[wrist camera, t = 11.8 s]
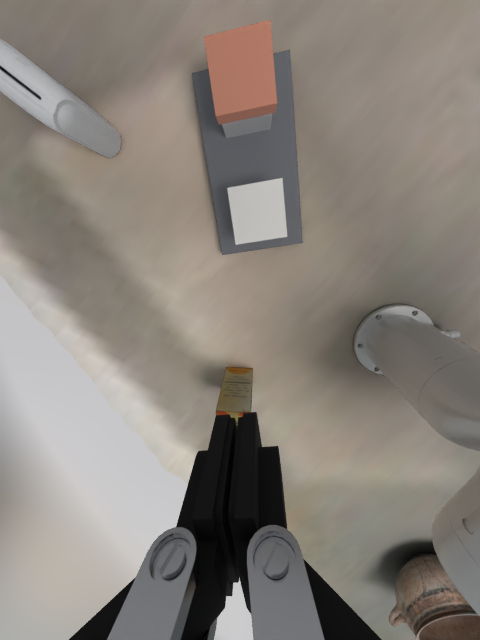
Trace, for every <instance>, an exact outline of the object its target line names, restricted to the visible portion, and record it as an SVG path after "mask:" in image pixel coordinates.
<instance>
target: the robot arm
mask: <svg viewBox="0 0 480 640" xmlns="http://www.w3.org/2000/svg"><path fill="white" fill-rule="evenodd" d="M376 316H377V317H376ZM459 337H460V333H459V331H458V330H447V331H442V330H440V329H438V328H436V327H434V324H433V322H432V320H431V319H430V317H429V316H428V315H427V314H426V313H424V312H423V311H421V310H420V309H417V308H415V307H413V306H409V305H403V304H396V305H389V306H385V307H382V308H380V309H378V310H376V311H374V312H373V313H371V314H370V315H368V316H367V317H366V318H365V319H364V320H363V321H362V323H361V324H360V326H359V327H358V329H357V331H356V333H355V337H354V351H355V354H356V356H357V358H358V360H359V361H360V362H361V363H362V365H363V366H364V367H366V368H367V369H368V370H370V371H372V372H374V373H377V374H381V375H385V376H386V377H387V378H388V380H389V381H390V382H391V383H392V384H393V385H394V386H395V387H396V388H397V389H398V391H399V392H400V393H401V394H402V395H403V396H404V397H405V398H406V399H407V400H408V402H409V403H410V404H411V405H412V406H413V407H414V408H415V409H416V410H417V411H418V413H419V414H420V415H421V416H422V417H423V418H424V419H425V420H426V421H427V422H428V423H429V424H430V425H431V427H432V428H433V429H434V430H436V431H437V432H438V433H439V434H440V435H442V436H443V437H444V438H446V439H448V440H450V441H451V442H453V443H455V444H458V445H460V446H463V447H466V448H469V449H473V450H477V451H480V353H479V352H477V351H475V350H473V349H471V348H469V347H467V345H466V344H465V343H464V342H458V341H456V340H454V339H456V338H459ZM432 542H433V546H434V549H435V552H436V554H437V557H438V559H439V561H440V563H441V565H442V567H443V568H444V570H445V572H446V574H447V575H448V577H449V578H450V580H451V581H452V583H453V584H454V585H455V587H456V588H457V590H458V591H459V592H460V594H461V595H462V596H463V597H464V599H465V600H466V601H467V602H468V604H469V605H470V606H471V607H472V608H473V609H474V611H475V612H476V613H477V614H478V615H479V616H480V467H479V469H478V470H477V473H476V474H475V475H474V476H473V477H472V478H471V479H470V480H469V481H468V482H467V483H466V484H465V485H464V486H463V487H462V488H461V489H460V490H459V491H458V492H457V493H456V494H455V495H454V496H453V497H452V498H451V499H450V500H449V501H448V502H447V503H446V505H445V506H444V507H443V508H442V509H441V510H440V512H439V513H438V514H437V516H436V518H435V520H434V522H433V525H432ZM239 577H240V581H241V585H242V590H243V593H244V597H245V602H246V606H247V609H248V610H249V612H250V613H251V615H252V627H253V638H254V640H381V639H380V638H379V637H378V636H377V634H376V633H375V632H374V631H373V630H372V629H371V628H370V627H369V626H368V625H367V624H366V623H365V622H364V621H363V620H362V619H361V618H360V617H359V616H358V615H357V614H356V613H355V612H354V611H353V610H352V609H351V608H350V607H349V605H348V604H347V603H346V602H345V601H344V600H343V599H342V598H341V597H340V596H339V595H338V594H337V593H336V592H335V591H334V590H333V589H332V588H331V587H330V586H329V585H328V584H327V583H326V582H325V581H324V580H323V579H322V578H321V576H320V575H319V574H318V573H317V572H316V571H315V570H314V569H313V568H312V567H311V566H310V565H309V564H308V563H307V562H306V561H305V560H304V559H303V556H302V553H301V549H300V547H299V544H298V542H297V540H296V538H295V537H294V536H293V535H292V533H291V532H289V531H288V530H287V522H286V512H285V502H284V492H283V482H282V473H281V464H280V456H279V449H278V446H273V447H262V445H261V438H260V432H259V425H258V419H257V413H256V412H252V413H243V417H238V424H237V425H236V420H235V418H231V416H230V414H226V415H216V418H215V422H214V426H213V430H212V435H211V439H210V443H209V448H208V450H207V451H198V453H197V455H196V458H195V462H194V466H193V469H192V473H191V476H190V480H189V483H188V487H187V491H186V494H185V498H184V501H183V505H182V508H181V512H180V516H179V519H178V523H177V526H176V527H175V528H172V529H169V530H167V531H165V532H164V533H163V534H161V535H160V536H159V537H158V538H157V539H156V540H155V541H154V542H153V544H152V546H151V547H150V549H149V551H148V552H147V555H146V557H145V559H144V561H143V563H142V565H141V568H140V570H139V572H138V574H137V576H136V578H135V579H133V580H132V581H131V582H130V583H129V584H128V585H127V586H126V587H125V588H124V589H123V590H122V591H121V592H119V593H118V594H117V595H116V596H115V597H114V598H113V599H112V600H111V601H110V602H109V603H108V604H107V605H106V606H105V607H103V608H102V609H101V610H100V611H99V612H98V613H97V614H96V615H95V616H94V617H93V618H92V619H91V620H90V621H88V622H87V623H86V624H85V625H84V626H83V627H82V628H81V629H80V630H79V631H78V632H77V633H76V634H75V635H73V636H72V637H71V638H70V639H69V640H214V635H215V631H216V624H217V617H218V616H219V614H220V613H221V612H222V610H223V609H224V608H225V601H226V596H232V590H233V582H238V581H239Z"/></svg>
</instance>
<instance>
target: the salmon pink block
mask: <svg viewBox="0 0 480 640" xmlns="http://www.w3.org/2000/svg"><path fill="white" fill-rule="evenodd" d="M204 41H205V48H206V55H207V61H208V68H209V75H210V81H211V88H212V95H213V102H214V108H215V115H216V119H217V121H218V124H224V123H229V122H233V121H238V120H243V119H247V118H252V117H257V116H261V115H266V114H271V113H276V108H277V95H276V83H275V71H274V58H273V46H272V34H271V22H270V20H268V21H264V22H260V23H256V24H252V25H248V26H245V27H241V28H237V29H233V30H229V31H225V32H221V33H217V34H213V35H209V36H205V37H204Z"/></svg>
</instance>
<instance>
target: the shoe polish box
mask: <svg viewBox="0 0 480 640" xmlns="http://www.w3.org/2000/svg"><path fill="white" fill-rule="evenodd" d="M252 377H253V368H235V367H226V370H225V374H224V379H223V383H222V387H221V391H220V395H219V399H218V404H217V408H216V415H226V414H230V416H231V418H235V420H236V425H237V424H238V417H243V413H251V404H252Z"/></svg>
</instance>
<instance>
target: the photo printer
mask: <svg viewBox="0 0 480 640" xmlns="http://www.w3.org/2000/svg"><path fill="white" fill-rule="evenodd" d="M0 91H1V92H2V93H3V94H5V95H6V96H7V97H8V98H10V99H11V100H12V101H13V102H15V103H16V104H17V105H19V106H20V107H21V108H23V109H24V110H25V111H27V112H28V113H29V114H31V115H32V116H34V117H35V118H36V119H38V120H39V121H41V122H42V123H44V124H45V125H47V126H48V127H50V128H51V129H53V130H55V131H57V132H59V133H61V134H62V135H64V136H66V137H68V138H70V139H72V140H74V141H76V142H78V143H80V144H82V145H83V146H85V147H87V148H89V149H91V150H93V151H95V152H97V153H99V154H101V155H103V156H105V157H107V158H111V156H115V155H116V154H118V152H119V151H120V148H121V139H120V137H121V135H120V134H119V133H118V131H117V130H116V129H115V128H114V127H113V126H112V125H111V124H110V123H109V122H107V121H106V120H105V119H104V118H103V117H102V116H100V115H99V114H98V113H97V112H96V111H94V110H93V109H92V108H91V107H89V106H88V105H87V104H86V103H84V102H83V101H82V100H81V99H79V98H78V97H77V96H75V95H74V94H73V93H72V92H70V91H69V90H68V89H66V88H65V87H64V86H62V85H61V84H60V83H58V82H57V81H56V80H54V79H53V78H52V77H51V76H49V75H48V74H47V73H45V72H44V71H43V70H42V69H40V68H39V67H38V66H36V65H35V64H34V63H33V62H31V61H30V60H29V59H28V58H26V57H25V56H24V55H22V54H21V53H20V52H19V51H17V50H16V49H15V48H14V47H12V46H11V45H9V44H8V43H6V42H5V41H3V40H1V39H0Z"/></svg>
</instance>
